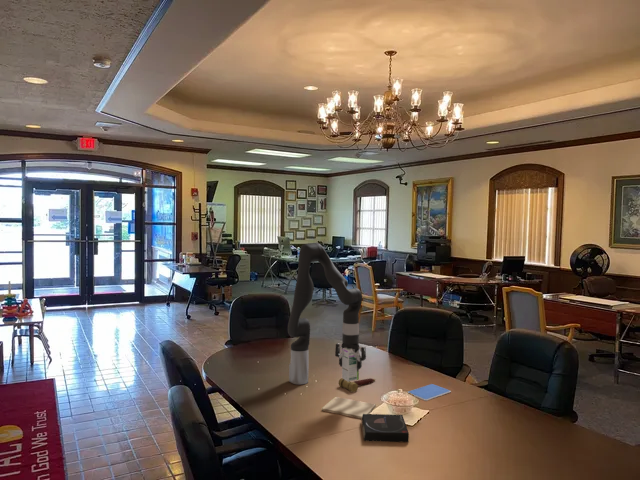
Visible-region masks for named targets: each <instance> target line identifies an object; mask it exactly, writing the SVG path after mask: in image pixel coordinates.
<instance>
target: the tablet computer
mask: <svg viewBox="0 0 640 480" xmlns="http://www.w3.org/2000/svg"><path fill="white" fill-rule="evenodd" d="M407 392H408V393H411V394H413V395H414V396H413V397H415V398H417V399H420V400H422V401H424V402H427V401H430V400H434V399H436V398H439V397H441V396H444V395H447V394H450V393H452V391H451V390H449V389H448V388H444V387H441V386H439V385H436V384H433V383H430V384H427V385H424V386H420V387H418V388H415V389H412V390H409V391H407Z"/></svg>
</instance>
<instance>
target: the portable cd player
mask: <svg viewBox="0 0 640 480" xmlns="http://www.w3.org/2000/svg"><path fill="white" fill-rule="evenodd" d="M407 427H408V426H407V424H406V421H405V419H404V414H387V413H386V414H385V413H384V414H381V413H380V414H379V413H377V414H376V413H370V414H363V416H362V419H361V428H362V436H363V440H364V442H378V443H382V442H384V443H386V442H388V443H389V442H390V443H409V442H410V440H409V439H410V434H409V433H410V432H409V430H408V428H407Z"/></svg>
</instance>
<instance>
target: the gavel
mask: <svg viewBox="0 0 640 480" xmlns="http://www.w3.org/2000/svg"><path fill="white" fill-rule="evenodd" d="M375 381H376V379H375V378H371V377H369V378H364V379H359V380H355V381H349V382H348V381H346V380H344V379H343V378H342V377H340V379H339V380H338V386H339V387H340V388H343V389H346V390H348V391H349V392H350V393H355V392H358V390H359V389H358V388H359V386H360V387H361V386H363V385H369V384H372V383H374V382H375Z"/></svg>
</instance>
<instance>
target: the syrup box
mask: <svg viewBox="0 0 640 480" xmlns="http://www.w3.org/2000/svg"><path fill="white" fill-rule="evenodd" d="M344 349H345V350H344ZM343 350H344V355H343V356H342V367H341V378H343V379H344V380H346V381H348V382H349V381H350V382H354V381H358V380H360V379H359V374H360V373H359V372H360V371H359V370H360V369H357V361H358V360H357V358H356V357H355V356H354V355H353V350H351V349H350V348H348V349H346V348H343V349H342V348H341V353H342V352H343ZM354 351H355V350H354ZM359 353H360V349H359V350H358V351H357V352H356V354H359Z"/></svg>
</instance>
